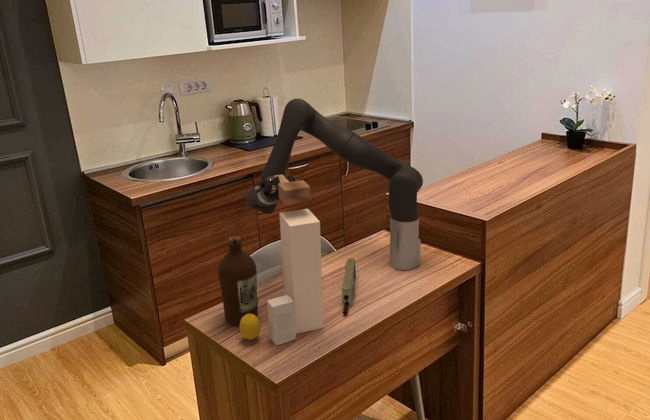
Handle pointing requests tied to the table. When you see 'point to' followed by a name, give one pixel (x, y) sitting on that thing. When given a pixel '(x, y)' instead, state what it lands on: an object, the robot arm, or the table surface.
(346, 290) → the handheld radio
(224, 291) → the olive oil
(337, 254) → the table surface
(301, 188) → the mallet
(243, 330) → the lemon
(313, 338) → the table surface
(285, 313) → the skincare box
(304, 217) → the stand
